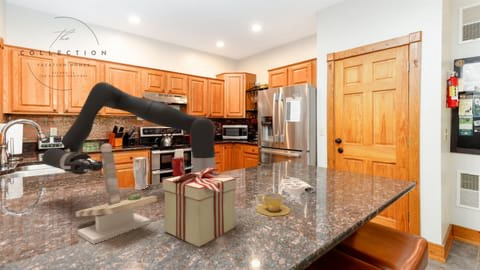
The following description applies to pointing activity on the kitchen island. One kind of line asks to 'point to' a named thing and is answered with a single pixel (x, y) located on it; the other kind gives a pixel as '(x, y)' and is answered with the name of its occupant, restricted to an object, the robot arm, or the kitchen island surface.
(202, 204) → the gift box
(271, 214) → the cup
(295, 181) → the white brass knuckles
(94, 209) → the platform
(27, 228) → the kitchen island surface
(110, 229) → the deck stand
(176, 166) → the beverage can
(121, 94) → the robot arm
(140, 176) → the beer glass
